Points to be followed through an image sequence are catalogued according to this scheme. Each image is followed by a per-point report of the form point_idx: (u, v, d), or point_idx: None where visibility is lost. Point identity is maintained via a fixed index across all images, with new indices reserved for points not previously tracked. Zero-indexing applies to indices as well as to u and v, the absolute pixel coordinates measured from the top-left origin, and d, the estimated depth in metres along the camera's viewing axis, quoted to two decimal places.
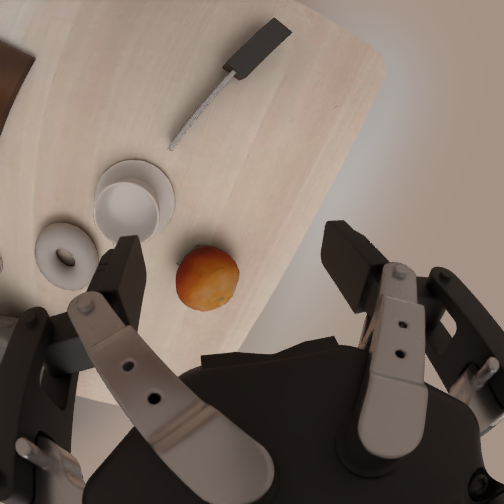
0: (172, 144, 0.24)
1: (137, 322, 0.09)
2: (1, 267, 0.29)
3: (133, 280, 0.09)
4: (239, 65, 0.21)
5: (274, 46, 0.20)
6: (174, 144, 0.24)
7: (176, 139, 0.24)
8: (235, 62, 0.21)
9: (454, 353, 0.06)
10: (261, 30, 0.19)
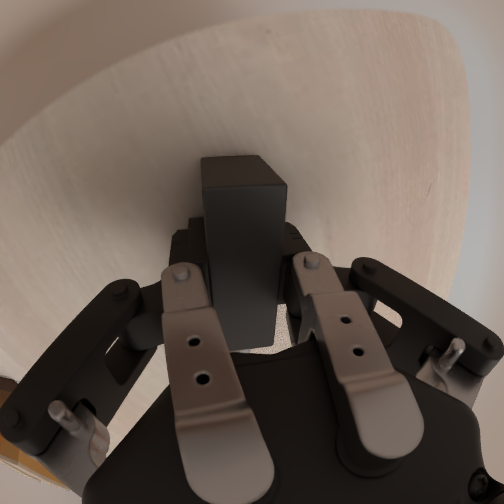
0: None
1: None
2: None
3: None
4: (244, 341, 0.11)
5: (277, 260, 0.09)
6: None
7: None
8: (232, 343, 0.11)
9: (406, 343, 0.07)
10: (211, 254, 0.08)
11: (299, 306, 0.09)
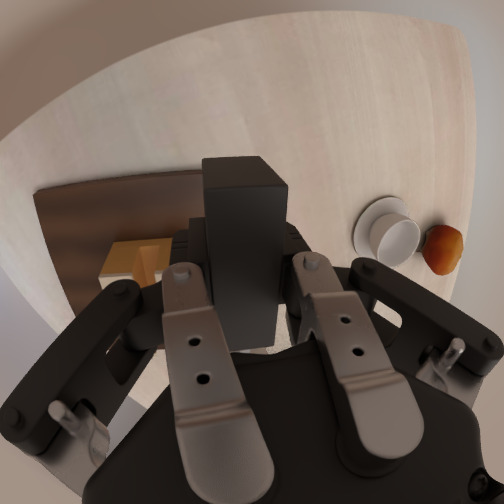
0: None
1: None
2: None
3: None
4: (244, 341, 0.11)
5: (277, 261, 0.09)
6: None
7: None
8: (233, 343, 0.11)
9: (406, 343, 0.07)
10: (212, 254, 0.08)
11: (299, 306, 0.09)
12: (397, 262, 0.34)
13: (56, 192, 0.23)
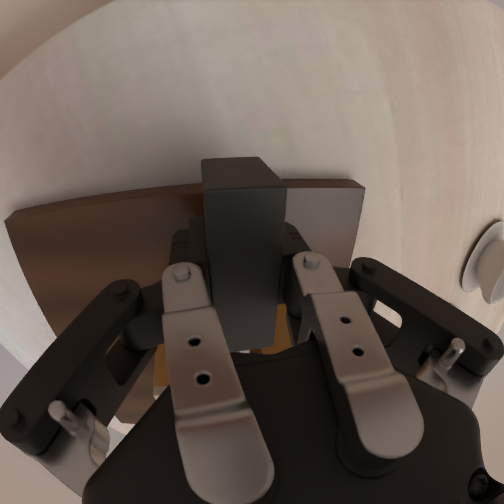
0: None
1: None
2: None
3: None
4: (244, 342, 0.11)
5: (277, 262, 0.09)
6: None
7: None
8: (232, 343, 0.11)
9: (406, 343, 0.07)
10: (212, 255, 0.08)
11: (299, 306, 0.09)
12: (499, 295, 0.22)
13: (45, 216, 0.12)
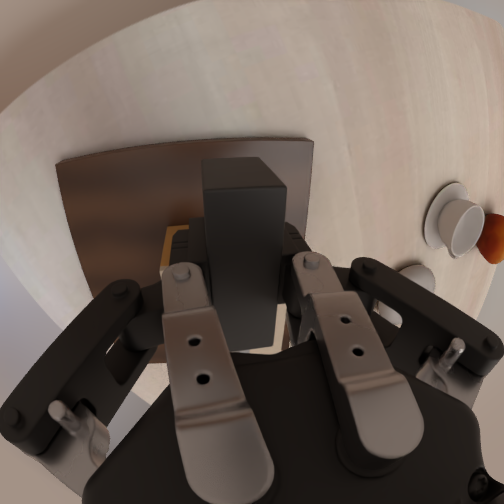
0: None
1: None
2: None
3: None
4: (244, 342, 0.11)
5: (276, 262, 0.09)
6: None
7: None
8: (232, 343, 0.11)
9: (406, 343, 0.07)
10: (212, 255, 0.08)
11: (299, 306, 0.09)
12: (463, 250, 0.29)
13: (90, 159, 0.18)
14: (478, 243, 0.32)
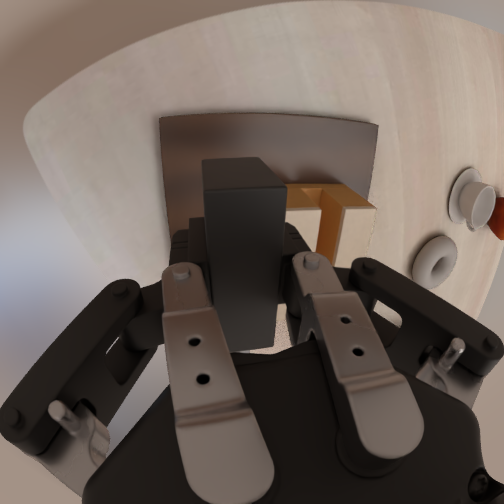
0: None
1: None
2: None
3: None
4: (244, 342, 0.11)
5: (277, 262, 0.09)
6: None
7: None
8: (232, 344, 0.11)
9: (406, 343, 0.07)
10: (212, 256, 0.08)
11: (299, 306, 0.09)
12: (479, 224, 0.32)
13: (199, 117, 0.22)
14: (489, 221, 0.36)
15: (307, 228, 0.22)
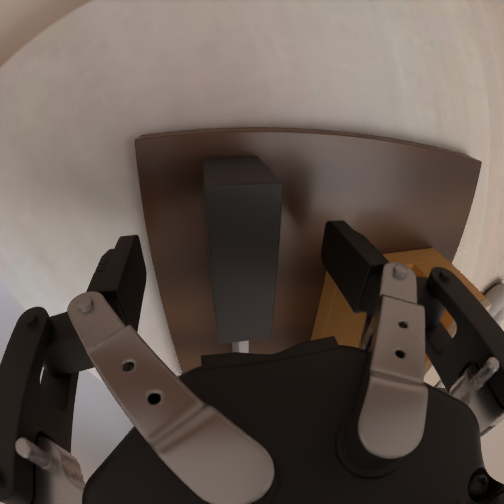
0: None
1: (137, 322, 0.09)
2: None
3: (133, 280, 0.09)
4: (243, 332, 0.11)
5: (274, 254, 0.09)
6: None
7: None
8: (232, 334, 0.11)
9: (454, 353, 0.06)
10: (212, 247, 0.09)
11: None
12: None
13: (219, 137, 0.11)
14: None
15: None
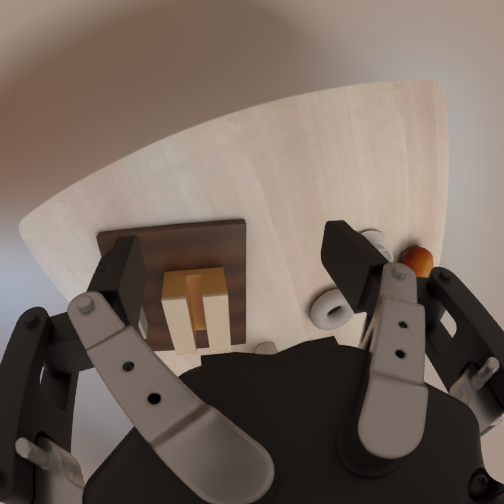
0: (143, 336, 0.42)
1: (137, 322, 0.09)
2: None
3: (133, 280, 0.09)
4: None
5: None
6: (144, 336, 0.42)
7: (142, 334, 0.42)
8: None
9: (454, 353, 0.06)
10: None
11: None
12: None
13: (118, 236, 0.36)
14: None
15: (180, 308, 0.36)
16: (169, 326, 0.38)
